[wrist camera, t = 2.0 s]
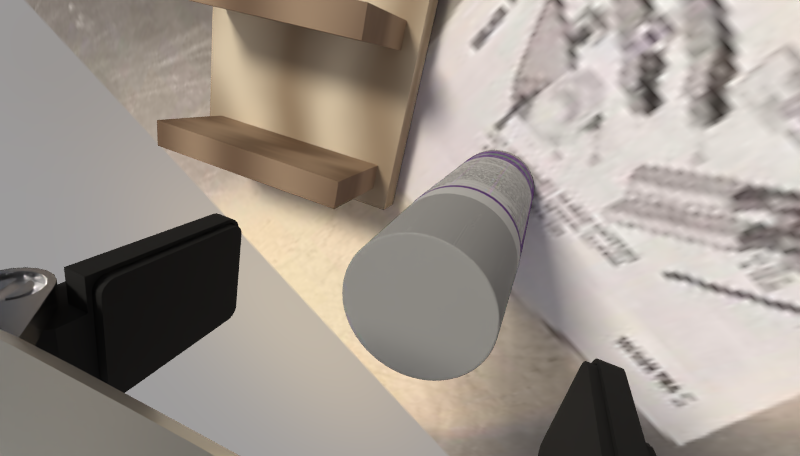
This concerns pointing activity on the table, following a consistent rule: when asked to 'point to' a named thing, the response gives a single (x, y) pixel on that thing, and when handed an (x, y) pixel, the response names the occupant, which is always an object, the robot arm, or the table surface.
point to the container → (443, 271)
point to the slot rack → (311, 95)
